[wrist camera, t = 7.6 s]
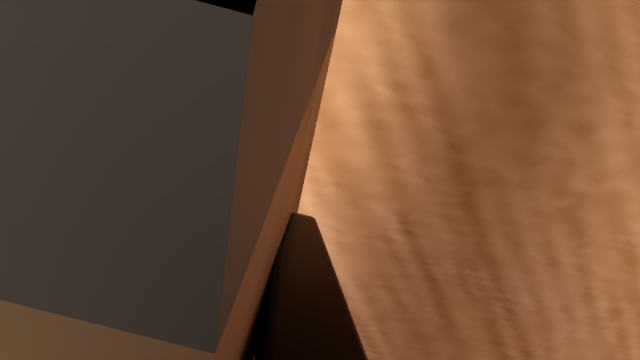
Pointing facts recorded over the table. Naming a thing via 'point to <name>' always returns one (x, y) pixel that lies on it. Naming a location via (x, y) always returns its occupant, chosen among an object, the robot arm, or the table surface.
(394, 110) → the table surface
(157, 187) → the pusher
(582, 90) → the table surface
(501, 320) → the table surface
